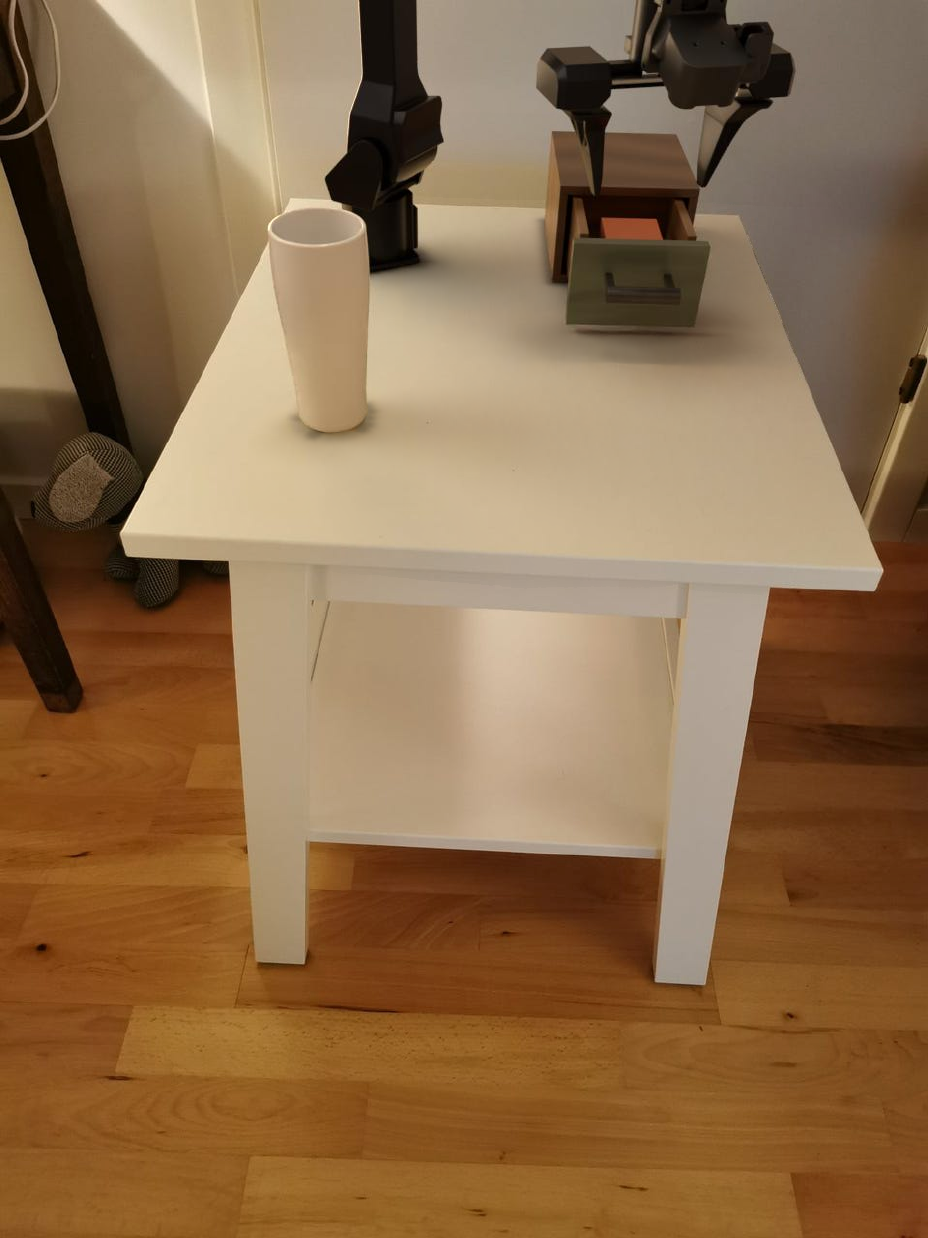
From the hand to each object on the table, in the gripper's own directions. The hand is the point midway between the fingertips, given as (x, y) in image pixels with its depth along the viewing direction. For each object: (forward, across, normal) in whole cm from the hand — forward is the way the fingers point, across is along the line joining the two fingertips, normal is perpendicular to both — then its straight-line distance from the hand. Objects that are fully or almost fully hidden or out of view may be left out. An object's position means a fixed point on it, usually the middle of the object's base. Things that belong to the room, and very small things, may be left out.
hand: (648, 189), depth 79 cm
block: (+10, +1, +4) cm, 11 cm away
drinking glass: (+12, -28, -9) cm, 32 cm away
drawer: (+11, +1, +3) cm, 12 cm away
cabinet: (+12, +4, +16) cm, 20 cm away
